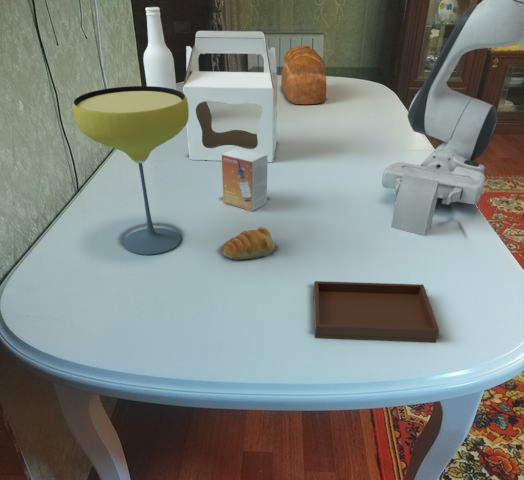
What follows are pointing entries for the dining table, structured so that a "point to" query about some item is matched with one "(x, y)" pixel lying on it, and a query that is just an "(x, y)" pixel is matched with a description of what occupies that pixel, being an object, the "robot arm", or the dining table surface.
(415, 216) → the grey rectangular block
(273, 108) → the gable box
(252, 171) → the small box
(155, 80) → the alcohol
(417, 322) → the tray
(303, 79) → the bread
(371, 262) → the dining table surface
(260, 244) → the pastry
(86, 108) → the cocktail glass
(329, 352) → the dining table surface
